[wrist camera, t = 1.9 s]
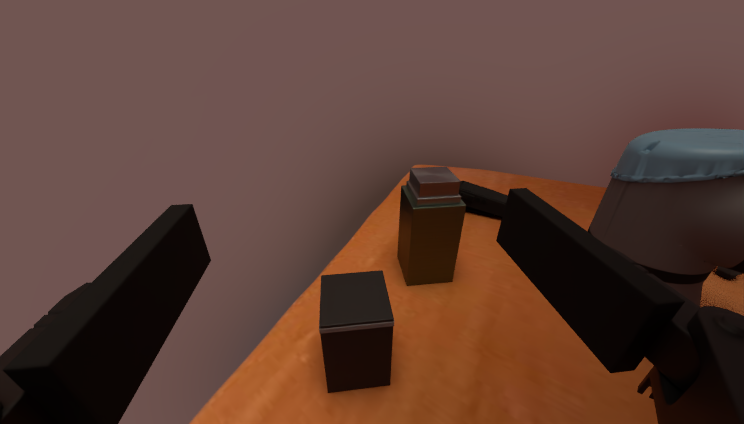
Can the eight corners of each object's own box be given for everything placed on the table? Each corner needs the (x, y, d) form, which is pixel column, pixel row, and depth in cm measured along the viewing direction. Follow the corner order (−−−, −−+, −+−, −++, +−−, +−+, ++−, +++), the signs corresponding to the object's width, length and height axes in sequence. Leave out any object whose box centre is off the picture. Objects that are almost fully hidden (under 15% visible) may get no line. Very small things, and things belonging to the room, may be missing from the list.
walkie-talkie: (510, 218, 56) (413, 188, 63) (505, 226, 61) (416, 198, 68) (520, 189, 57) (423, 163, 64) (514, 199, 62) (425, 175, 69)
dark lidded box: (381, 332, 36) (382, 269, 31) (390, 385, 30) (394, 319, 25) (327, 338, 35) (320, 274, 30) (327, 393, 29) (318, 327, 24)
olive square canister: (437, 253, 50) (450, 164, 42) (452, 281, 43) (470, 183, 36) (397, 256, 49) (402, 166, 41) (406, 285, 43) (414, 186, 35)
